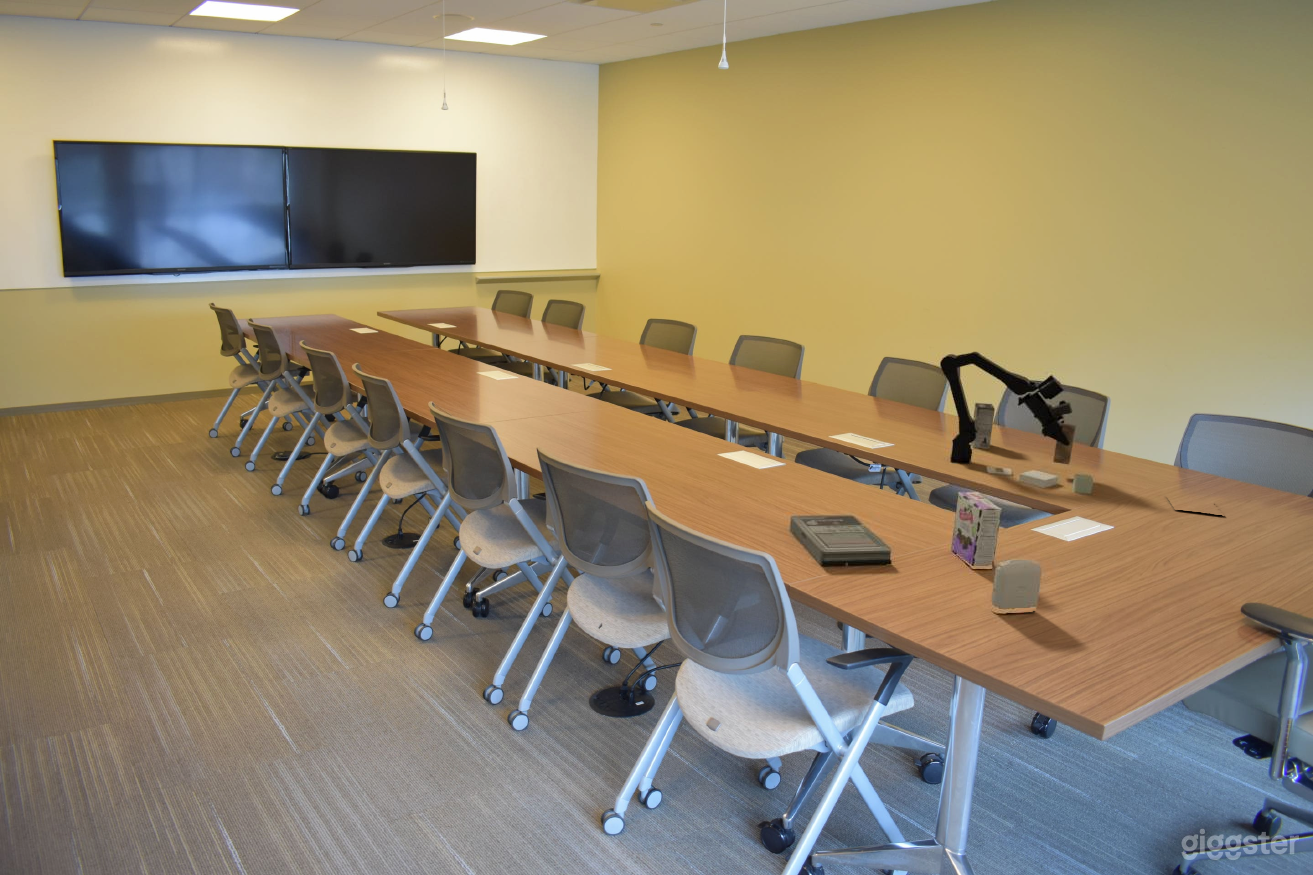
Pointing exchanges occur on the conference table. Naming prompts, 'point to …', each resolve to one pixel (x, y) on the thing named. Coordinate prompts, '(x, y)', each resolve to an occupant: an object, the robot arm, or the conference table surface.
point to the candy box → (976, 529)
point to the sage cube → (1082, 483)
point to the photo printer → (1016, 584)
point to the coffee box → (983, 425)
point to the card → (999, 470)
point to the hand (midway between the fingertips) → (1068, 443)
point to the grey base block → (1038, 478)
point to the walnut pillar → (1062, 450)
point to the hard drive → (839, 541)
